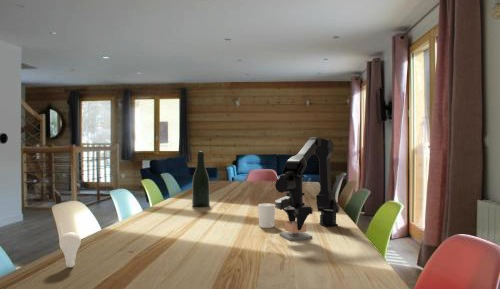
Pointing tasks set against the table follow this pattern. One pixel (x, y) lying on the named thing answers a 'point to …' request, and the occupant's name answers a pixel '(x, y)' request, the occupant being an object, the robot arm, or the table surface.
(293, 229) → the ring
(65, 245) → the lightbulb
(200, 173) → the dark green wine bottle
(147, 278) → the table surface
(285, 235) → the post plate
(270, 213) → the white cup
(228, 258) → the table surface
